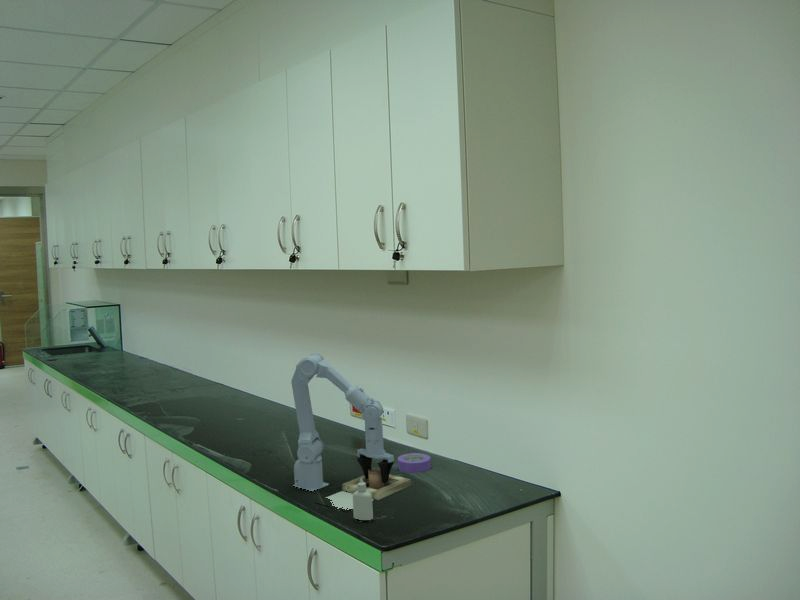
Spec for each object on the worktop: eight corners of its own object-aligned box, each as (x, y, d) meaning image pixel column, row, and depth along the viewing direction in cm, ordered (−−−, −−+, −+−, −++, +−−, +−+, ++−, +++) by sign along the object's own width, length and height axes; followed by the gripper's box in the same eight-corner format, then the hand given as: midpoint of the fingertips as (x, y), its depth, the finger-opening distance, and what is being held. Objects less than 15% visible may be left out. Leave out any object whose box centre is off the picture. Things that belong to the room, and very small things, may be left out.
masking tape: (434, 463, 253) (433, 453, 252) (426, 474, 241) (426, 463, 241) (402, 462, 256) (402, 452, 255) (394, 472, 245) (393, 462, 244)
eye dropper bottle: (364, 514, 206) (362, 474, 206) (375, 520, 202) (373, 479, 201) (352, 518, 204) (349, 478, 203) (362, 524, 199) (359, 483, 198)
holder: (342, 490, 228) (341, 484, 228) (375, 476, 240) (375, 471, 240) (378, 500, 218) (377, 493, 218) (411, 485, 230) (410, 479, 230)
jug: (365, 488, 229) (364, 470, 229) (379, 483, 234) (378, 465, 234) (377, 491, 226) (376, 473, 225) (391, 485, 231) (390, 468, 230)
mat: (314, 503, 218) (314, 502, 218) (342, 491, 227) (342, 490, 227) (346, 512, 209) (346, 511, 209) (373, 500, 218) (373, 499, 218)
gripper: (399, 439, 226) (401, 480, 227) (366, 433, 236) (368, 473, 237) (384, 444, 221) (386, 486, 222) (351, 438, 230) (354, 478, 231)
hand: (376, 480), depth 229 cm, fingers open, 7 cm apart
